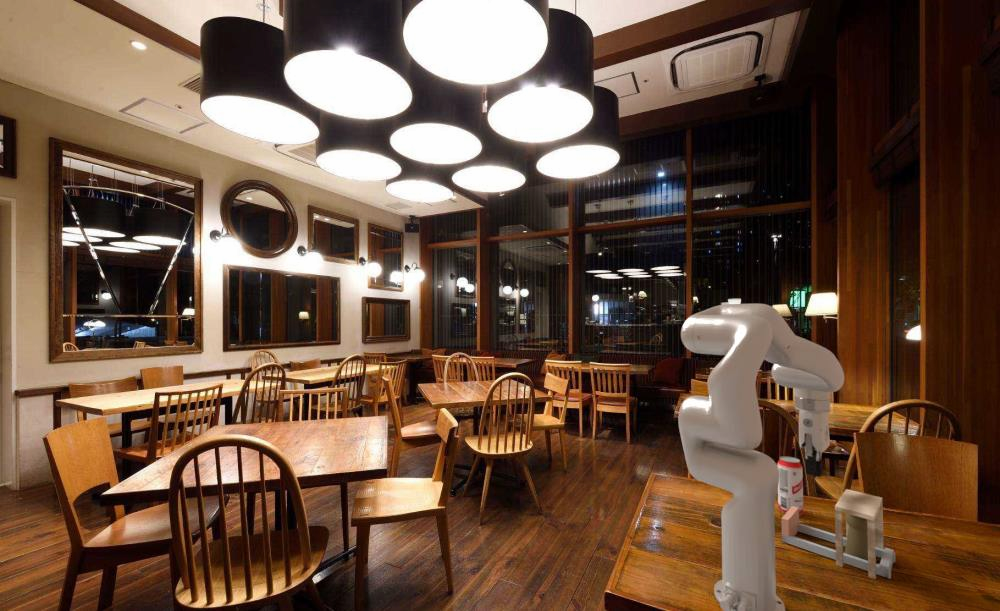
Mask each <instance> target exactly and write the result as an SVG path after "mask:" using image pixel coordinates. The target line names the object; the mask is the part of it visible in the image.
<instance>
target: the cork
mask: <svg viewBox="0 0 1000 611" xmlns="http://www.w3.org/2000/svg"><path fill="white" fill-rule="evenodd" d="M846 522H847V524H848V525H849V527H848V534H847V541H846V547H845V546H844V547H845V548H844V553H845V554H848V555H851V556H855V557H858V558H861V559H864V560H867V561H868V535H867V519H865V518H861V517H858V516H854V515H851V514H846V513H845V523H846ZM876 564H878V563H877V561H876Z"/></svg>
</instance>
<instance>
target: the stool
mask: <svg viewBox="0 0 1000 611" xmlns="http://www.w3.org/2000/svg"><path fill="white" fill-rule="evenodd" d="M883 509H884V508H883V497H882V496H881V497H880V496H877V495H873V494H869V493H865V492H860V491H855V490H852V489H848V488H846V489H845V490H844V492H843V493H842V494H841V495H840V497H839V499H838V500H837V502H836V504H835V505H834V525H835V526H834V527H835V528H834V529H835V533H834V534H835V538H836V543H835V550H836V560H835V566H838V567H840V568H844V563H843V553H844V546H843V537H844V532H843V531H844V528H843V525H844V524H843V513H844V514H845V515H846V514H851V515H854V516H858V517H861V518H865V519H867V535H868V571H867V572H868V574H867V575H868V578H871V579H874V580H876V579H877V574H876V562H877V558H876V547H878V548H881V549H885V547H884V518H883V517H884V516H883V515H884V514H883V513H884V512H883ZM848 527H849V525H848V524H847V522H846V521H845V532H846V533H845V538H847V534H848Z"/></svg>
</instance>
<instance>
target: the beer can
mask: <svg viewBox="0 0 1000 611" xmlns="http://www.w3.org/2000/svg"><path fill="white" fill-rule="evenodd" d="M776 464H777V466H778V469H779V484H778V489H777V508H778V509H779V511H780V512H781V513H782V514H784V515H785V514H786V512H787V511H788V510H789V509H790V508H791V507H792V506H794V507H798V508H799V517H800V516H803V514H804V487H803V486H804V484H803V483H804V482H803V481H804V480H803V478H804V477H803V466H802V463H801V460H800V459H799V458H796V457H794V456H793V457H792V456H787V455H786V456H784V455H783V456H779V460H778V461H777V463H776Z"/></svg>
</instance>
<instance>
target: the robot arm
mask: <svg viewBox="0 0 1000 611" xmlns="http://www.w3.org/2000/svg"><path fill="white" fill-rule="evenodd" d="M680 339H681V342H682V344H683V345H684V347H685V348H686V349H687V350H689V351H690V352H692V353H695V354H703V355H716V356H724V357H722V359H721V360H720V361H719V362H718V363H717V365H715V366H714V368H713V369H712V370H711V372H710V373H709V375H708V377H707V380H706V381H707V385H706V386H707V392H708V396H706V395H700V394H699V395H697V394H696V395H690V396H688V397H686V398H685V399H684V400H683V401H682V402H681V405H680V406H679V410H678V418H677V419H678V420H677V421H678V429H679V434H680V439H681V443H682V448H683V452H684V457H685V462H686V467H687V469H688V470H687V471H688V472H689V473H690V475H691V476H692V477H693V478H694V479H696V480H697V481H699V482H702V483H704V484H707V485H709V486H713V487H716V488H719V489H722V490H724V491H726V492H730V493H731V494H732V495H733V497H732V498H731V499H729V500H728V501H727V502H726V503H725V504H724V505H723V507H722V509H721V516H720V518H721V519H720V520H721V569H722V571H721V572H722V573H721V576H722V577H721V578H722V579H720V580H717V581H716V583H715V584H714V588H713V589H714V590H713V591H714V597H715V598H716V601H718V603H719V606H720V609H721V610H722V611H786V607H785V604H784V601H783V600H782V599H781V598H780V597H779V596H778V595H777V593H776V592H777V591H776V590H777V589H776V588H777V586H776V535H775V512H776V501H777V496H778V484H779V469H778V466H777V464H778V463H777V462H775V460H774V459H773V458H772V457H770V456H769V455H768V454H765V453H763V452H761V451H758V450H755V449H756V448H758V447H759V446H760V444H761V443H762V441H763V425H762V424H763V423H762V418H761V413H760V406H759V402H758V401H759V400H758V395H757V387H756V381H757V377H758V374H759V371H760V368H761V367H762V365H763V362H764V361H766V362H768V363H771V364H773V365H772V367H771V376H772V379H773V381H774V382H775V383H776V384H777V385H779V386H781V387H785V388H789V389H794V390H793V392H794V396H793V397H794V399H793V400H794V409H795V410H797V411H798V444H799V447H800V448H801V449H802V450H804V453H805V459H804V460H805V473H806V475H809V476H813V477H817V478H821V477H822V475H823V460H822V458H823V457H822V453H824V452H825V451H826V450H827V449H828V448H829V446H830V445H831V440H830V426H829V416H828V414H830V413H831V410H832V409H831V393H835V392H838V391H839V390H840V389H842V387H843V385H844V383H845V373H844V370H843V367H842V365H841V363H840V362H839V360H838V359H837V357H836V355H835V354H834V353H833V352H832V351H831V350H829V349H827V347H824V346H822V345H820V344H818V343H815V342H813V341H811V340H808V339H806V338H803V337H800V336H798V335H796V334H795V333H794V332H793V330H792V328H790V326H789V324H788V323H787V322H786V320H785V319H784V318H783V317H782V315H781V314H780V312H779V311H778V310H777V309H776V308H774V306H771V305H769V304H766V303H725V304H719V305H716V306H712V307H710V308H707V309H705V310H702V311H699V312H696V313H694V314H692V315H690V316H689V317H687V318H686V320H685V321H684V323H683V324H682V327H681V330H680Z"/></svg>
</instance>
